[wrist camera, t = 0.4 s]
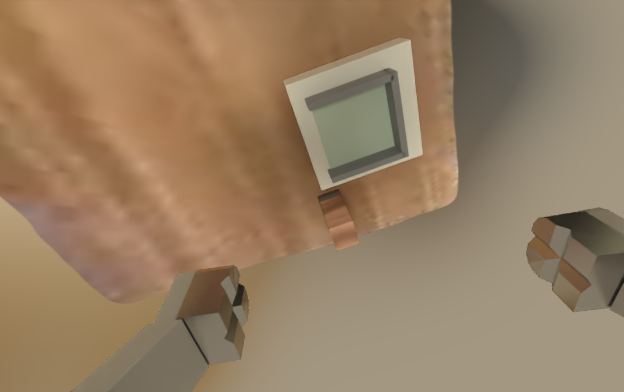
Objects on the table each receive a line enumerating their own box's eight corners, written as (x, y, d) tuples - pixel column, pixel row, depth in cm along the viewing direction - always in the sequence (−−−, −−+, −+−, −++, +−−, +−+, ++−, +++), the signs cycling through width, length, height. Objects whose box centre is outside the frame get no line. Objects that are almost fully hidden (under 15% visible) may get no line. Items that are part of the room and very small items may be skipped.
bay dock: (282, 80, 44) (286, 90, 38) (398, 37, 43) (420, 41, 37) (317, 179, 54) (325, 200, 48) (412, 145, 53) (431, 162, 47)
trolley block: (317, 196, 55) (329, 229, 47) (337, 189, 55) (352, 220, 47) (325, 216, 58) (336, 250, 50) (344, 209, 58) (359, 242, 50)
